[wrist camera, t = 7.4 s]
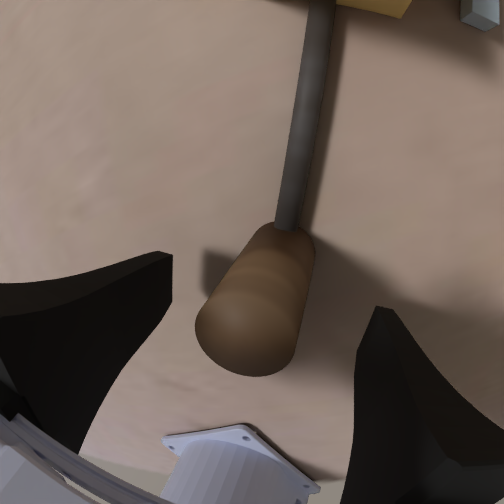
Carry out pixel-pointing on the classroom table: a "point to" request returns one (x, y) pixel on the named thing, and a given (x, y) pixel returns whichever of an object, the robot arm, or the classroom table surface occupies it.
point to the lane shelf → (480, 13)
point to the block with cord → (278, 232)
